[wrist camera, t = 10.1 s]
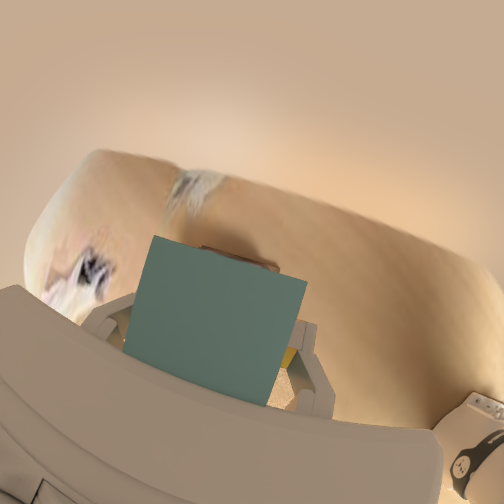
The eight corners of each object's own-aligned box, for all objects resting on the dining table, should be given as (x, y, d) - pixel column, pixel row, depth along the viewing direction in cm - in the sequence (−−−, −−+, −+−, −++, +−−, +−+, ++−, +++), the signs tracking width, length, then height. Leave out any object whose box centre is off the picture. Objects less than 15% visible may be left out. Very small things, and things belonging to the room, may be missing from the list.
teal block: (286, 286, 20) (307, 281, 8) (266, 350, 19) (256, 429, 7) (221, 266, 20) (154, 235, 8) (202, 329, 20) (118, 374, 8)
